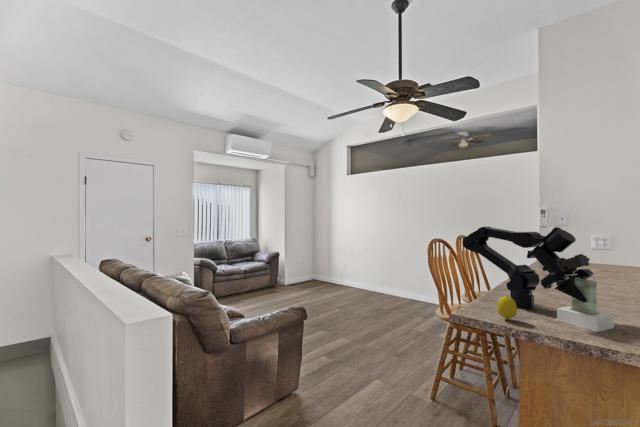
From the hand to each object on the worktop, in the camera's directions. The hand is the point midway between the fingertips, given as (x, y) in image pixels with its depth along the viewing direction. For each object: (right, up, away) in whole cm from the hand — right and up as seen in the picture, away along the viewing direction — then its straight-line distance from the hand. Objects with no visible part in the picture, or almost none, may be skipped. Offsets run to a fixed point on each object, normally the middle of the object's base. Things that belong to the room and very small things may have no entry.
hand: (589, 301), depth 93 cm
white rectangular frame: (0, -7, +1) cm, 8 cm away
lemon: (-22, -8, +6) cm, 24 cm away
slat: (-1, -7, +1) cm, 7 cm away
